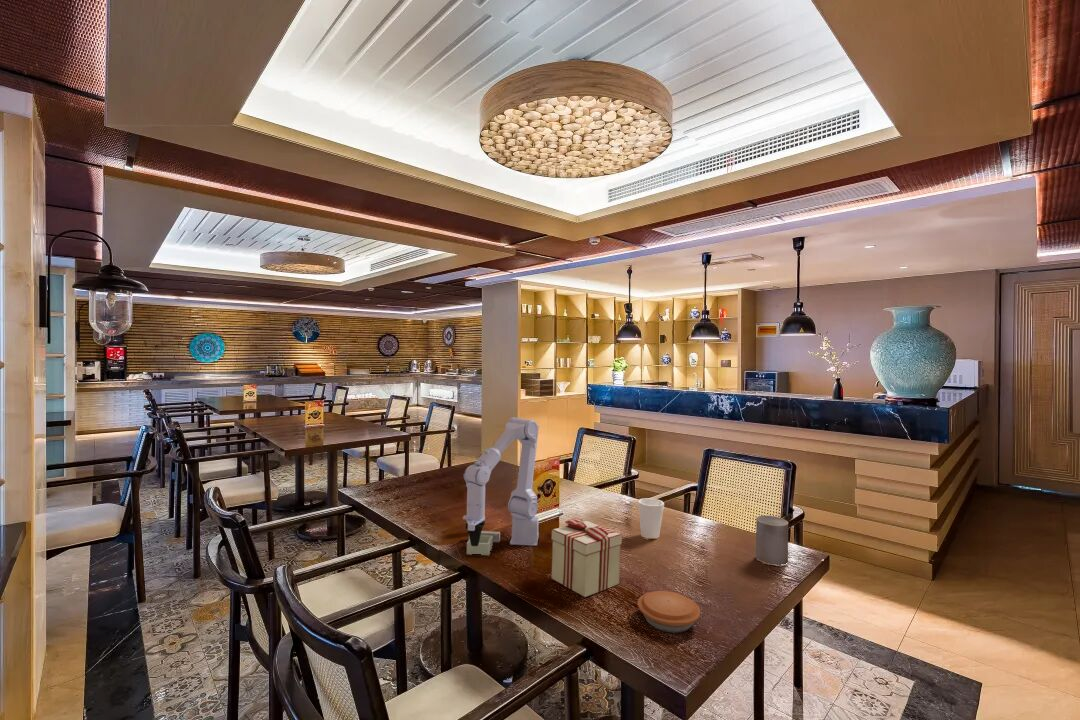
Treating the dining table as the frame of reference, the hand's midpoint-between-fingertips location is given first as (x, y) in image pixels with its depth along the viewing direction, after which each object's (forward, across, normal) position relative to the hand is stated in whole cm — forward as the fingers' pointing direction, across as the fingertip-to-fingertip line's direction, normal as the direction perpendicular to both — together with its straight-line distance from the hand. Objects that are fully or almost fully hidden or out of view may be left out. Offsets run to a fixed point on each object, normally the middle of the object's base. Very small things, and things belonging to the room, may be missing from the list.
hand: (474, 545), depth 154 cm
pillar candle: (+5, -12, +98) cm, 98 cm away
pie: (+6, +28, +56) cm, 63 cm away
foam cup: (+5, -29, +61) cm, 67 cm away
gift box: (+5, +8, +36) cm, 37 cm away
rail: (+5, -18, 0) cm, 18 cm away
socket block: (+5, -9, 0) cm, 11 cm away
